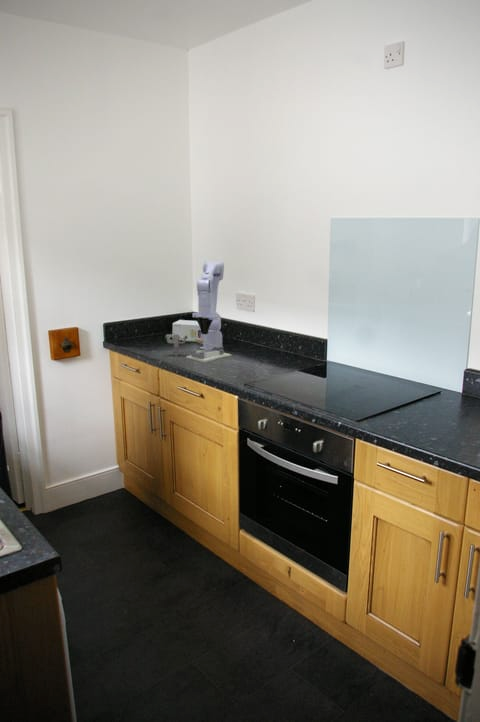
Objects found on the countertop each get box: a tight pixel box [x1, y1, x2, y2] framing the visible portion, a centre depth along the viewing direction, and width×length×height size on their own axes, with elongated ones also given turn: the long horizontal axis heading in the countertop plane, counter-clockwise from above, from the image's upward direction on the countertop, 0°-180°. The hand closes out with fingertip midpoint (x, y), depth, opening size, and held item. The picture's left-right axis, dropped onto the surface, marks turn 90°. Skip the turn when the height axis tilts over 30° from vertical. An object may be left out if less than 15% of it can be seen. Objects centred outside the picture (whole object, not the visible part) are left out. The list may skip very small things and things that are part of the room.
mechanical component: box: [164, 333, 187, 357], centre depth 276 cm, size 3×10×10 cm, turn 89°
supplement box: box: [172, 319, 203, 342], centre depth 318 cm, size 17×13×9 cm
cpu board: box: [186, 348, 232, 363], centre depth 275 cm, size 18×12×4 cm, turn 138°
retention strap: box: [194, 340, 223, 349], centre depth 274 cm, size 14×4×1 cm, turn 138°
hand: (204, 333), depth 277 cm, fingers closed
